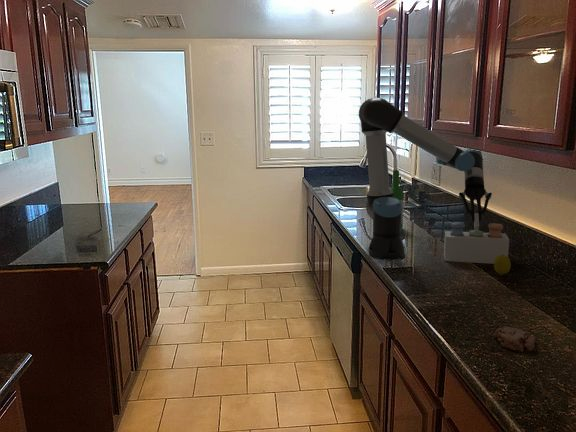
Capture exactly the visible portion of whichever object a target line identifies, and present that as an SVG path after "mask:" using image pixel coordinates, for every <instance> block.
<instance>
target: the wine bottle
mask: <svg viewBox="0 0 576 432" xmlns="http://www.w3.org/2000/svg"><path fill="white" fill-rule="evenodd" d="M389 188H390V189H391V190H392V191H393V196H394V198H396V199H398V200H400V202H401V204H402V217H401V230H402V229H403V225H404V190H403V188H402V187H400V170H399V169H393V171H392V186H391V187H389Z"/></svg>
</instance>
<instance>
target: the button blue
mask: <svg viewBox="0 0 576 432" xmlns="http://www.w3.org/2000/svg"><path fill="white" fill-rule="evenodd" d="M450 227H451V231H452V236H463V232H464V228H466V227H465V222H461V221H452V222H451V223H450Z"/></svg>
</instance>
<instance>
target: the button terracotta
mask: <svg viewBox="0 0 576 432" xmlns="http://www.w3.org/2000/svg"><path fill="white" fill-rule="evenodd" d="M487 228H488V229H489V232H488V233H489V237H492V238H501V233H502V230H503V229H504V225H503V224H502V223H493V222H492V223H488V227H487Z"/></svg>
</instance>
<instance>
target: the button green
mask: <svg viewBox="0 0 576 432" xmlns="http://www.w3.org/2000/svg"><path fill="white" fill-rule="evenodd" d="M468 232H469V235H470V237H482V236H483V233H484V231H482V230H480V229H479V230H474V229H470V230H469V231H468Z"/></svg>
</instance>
